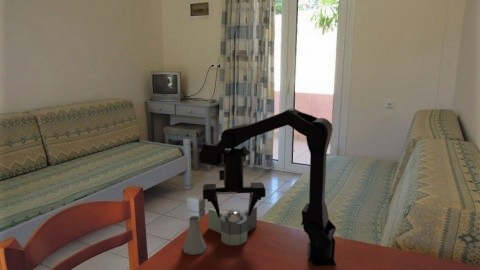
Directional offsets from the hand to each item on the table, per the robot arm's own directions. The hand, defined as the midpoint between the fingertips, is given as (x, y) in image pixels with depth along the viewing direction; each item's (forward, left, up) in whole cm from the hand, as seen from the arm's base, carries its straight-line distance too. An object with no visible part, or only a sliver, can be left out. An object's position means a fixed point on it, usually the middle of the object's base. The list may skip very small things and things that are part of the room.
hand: (234, 216), depth 109 cm
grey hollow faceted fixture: (-2, -2, -7) cm, 8 cm away
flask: (+12, +5, -8) cm, 15 cm away
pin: (0, 0, -8) cm, 8 cm away
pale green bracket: (+2, -2, -7) cm, 8 cm away
